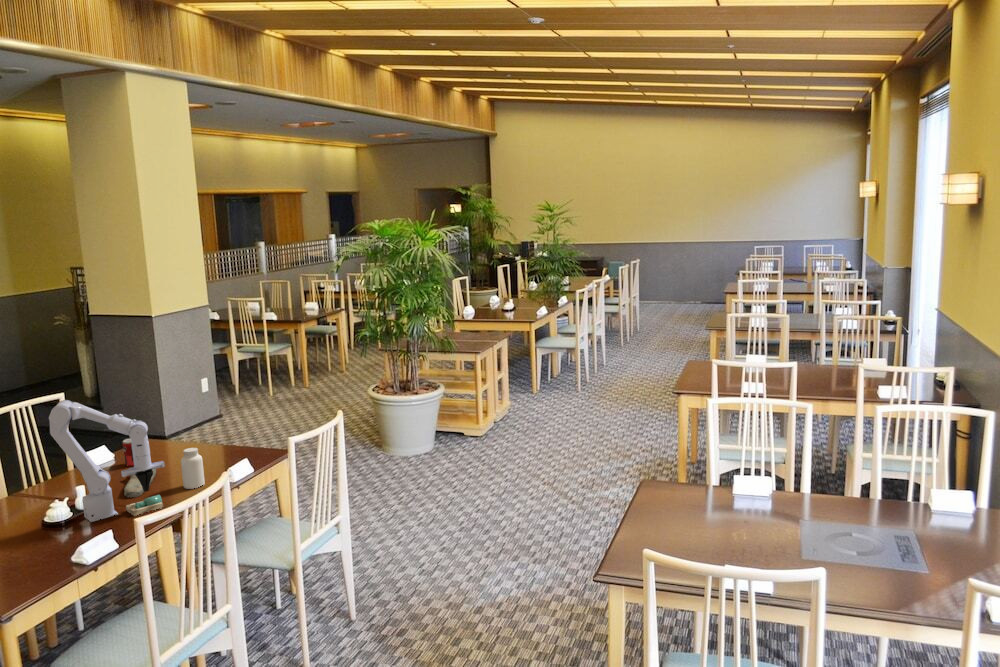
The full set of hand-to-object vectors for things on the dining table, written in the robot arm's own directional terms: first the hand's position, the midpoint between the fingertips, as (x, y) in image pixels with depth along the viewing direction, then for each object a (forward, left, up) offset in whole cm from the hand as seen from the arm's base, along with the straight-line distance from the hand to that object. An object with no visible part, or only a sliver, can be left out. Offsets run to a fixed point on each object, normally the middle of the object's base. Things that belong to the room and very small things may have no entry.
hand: (146, 490), depth 284 cm
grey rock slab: (+8, +32, -8) cm, 34 cm away
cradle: (-1, 0, -7) cm, 7 cm away
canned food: (+15, +62, -7) cm, 64 cm away
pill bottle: (+21, +11, -7) cm, 25 cm away
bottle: (+4, 0, -5) cm, 7 cm away
